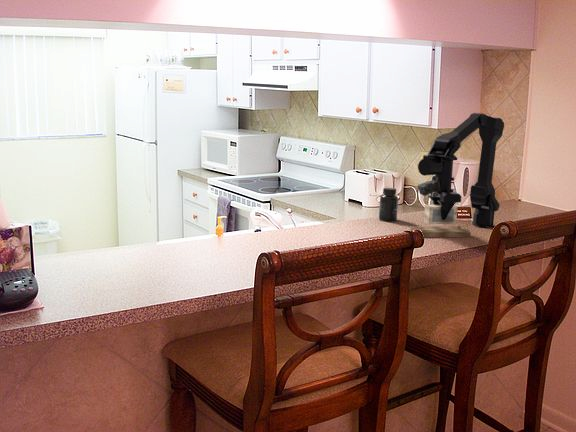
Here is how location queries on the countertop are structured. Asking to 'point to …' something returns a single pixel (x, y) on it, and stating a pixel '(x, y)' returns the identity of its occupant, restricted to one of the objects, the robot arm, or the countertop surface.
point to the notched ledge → (443, 231)
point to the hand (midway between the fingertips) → (440, 218)
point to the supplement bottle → (388, 205)
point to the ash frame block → (439, 215)
